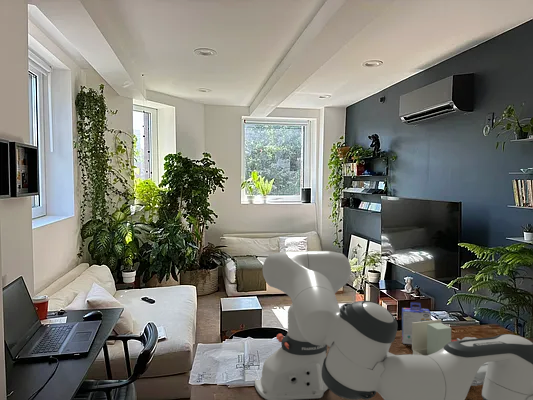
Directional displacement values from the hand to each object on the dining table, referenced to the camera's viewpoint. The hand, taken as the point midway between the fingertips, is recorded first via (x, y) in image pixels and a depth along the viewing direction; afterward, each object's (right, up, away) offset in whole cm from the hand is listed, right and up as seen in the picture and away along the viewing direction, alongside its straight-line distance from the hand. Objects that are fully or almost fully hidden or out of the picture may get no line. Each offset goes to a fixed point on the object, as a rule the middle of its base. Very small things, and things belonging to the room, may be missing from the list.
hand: (464, 356), depth 114 cm
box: (-3, -7, +10) cm, 13 cm away
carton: (-3, -7, +9) cm, 11 cm away
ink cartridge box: (-3, -7, +29) cm, 30 cm away
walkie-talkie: (+15, -7, +22) cm, 28 cm away
